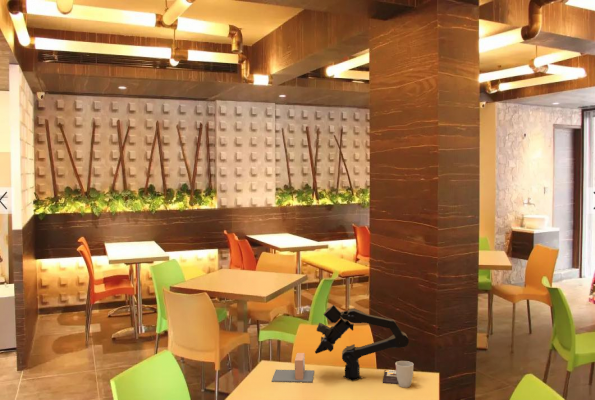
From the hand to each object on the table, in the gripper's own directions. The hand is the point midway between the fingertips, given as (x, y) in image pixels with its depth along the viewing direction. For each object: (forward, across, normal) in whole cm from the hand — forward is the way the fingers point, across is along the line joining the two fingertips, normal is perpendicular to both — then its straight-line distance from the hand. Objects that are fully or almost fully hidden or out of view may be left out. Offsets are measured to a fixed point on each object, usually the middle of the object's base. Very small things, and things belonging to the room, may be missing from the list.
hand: (315, 352), depth 259 cm
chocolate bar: (-17, -2, +35) cm, 39 cm away
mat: (+16, 0, +1) cm, 16 cm away
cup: (-20, +9, +37) cm, 43 cm away
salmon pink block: (+10, 0, -1) cm, 10 cm away
